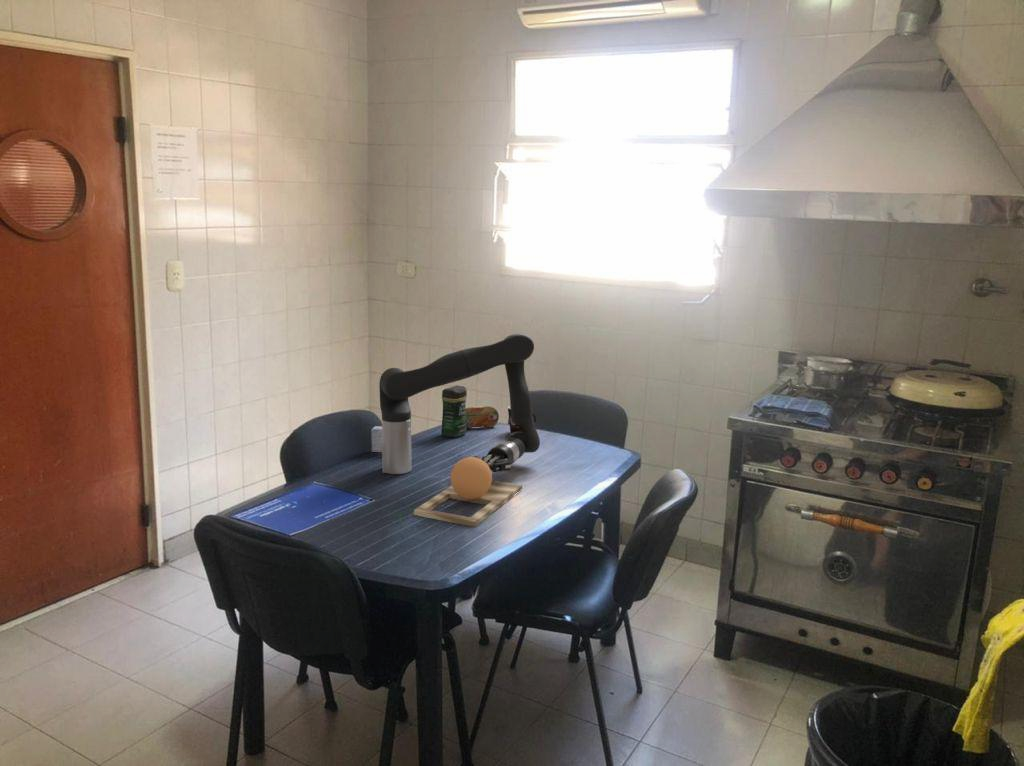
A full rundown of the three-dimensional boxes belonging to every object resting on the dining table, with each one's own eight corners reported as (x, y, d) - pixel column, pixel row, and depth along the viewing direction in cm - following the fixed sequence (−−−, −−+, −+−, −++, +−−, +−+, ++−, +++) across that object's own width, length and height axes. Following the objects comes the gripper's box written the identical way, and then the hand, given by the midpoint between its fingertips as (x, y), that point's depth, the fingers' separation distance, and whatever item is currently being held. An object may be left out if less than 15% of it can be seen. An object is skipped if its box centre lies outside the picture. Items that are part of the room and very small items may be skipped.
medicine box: (397, 450, 282) (396, 426, 280) (394, 454, 277) (393, 430, 276) (375, 449, 283) (374, 425, 281) (371, 453, 278) (371, 429, 276)
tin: (460, 429, 309) (461, 408, 308) (459, 427, 312) (459, 406, 311) (498, 427, 313) (499, 406, 312) (496, 425, 316) (497, 404, 315)
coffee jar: (456, 439, 296) (456, 390, 292) (438, 436, 300) (438, 387, 296) (470, 433, 304) (470, 385, 300) (452, 430, 308) (452, 383, 304)
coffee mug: (503, 431, 308) (504, 405, 306) (524, 428, 312) (524, 403, 310) (516, 439, 298) (517, 413, 296) (537, 436, 301) (538, 411, 299)
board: (466, 480, 252) (466, 476, 252) (521, 489, 245) (522, 485, 245) (413, 515, 224) (413, 509, 223) (475, 526, 216) (475, 521, 216)
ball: (471, 496, 240) (454, 510, 229) (454, 460, 240) (436, 471, 229) (504, 484, 236) (488, 496, 225) (487, 446, 235) (471, 457, 224)
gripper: (484, 441, 255) (459, 456, 240) (523, 446, 250) (500, 462, 235) (484, 463, 257) (459, 480, 241) (522, 469, 252) (499, 486, 236)
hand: (479, 471), depth 238 cm, fingers closed
